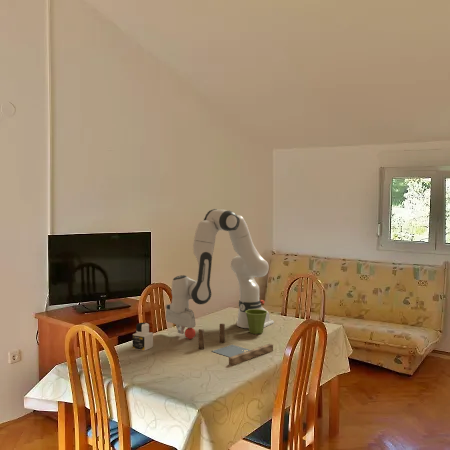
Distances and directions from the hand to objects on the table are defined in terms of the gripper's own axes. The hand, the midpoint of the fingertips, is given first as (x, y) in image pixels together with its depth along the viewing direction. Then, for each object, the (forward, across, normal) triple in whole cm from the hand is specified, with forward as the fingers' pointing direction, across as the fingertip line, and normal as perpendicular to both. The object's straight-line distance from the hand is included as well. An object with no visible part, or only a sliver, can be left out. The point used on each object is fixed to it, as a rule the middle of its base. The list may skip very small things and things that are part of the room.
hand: (180, 333), depth 262 cm
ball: (-1, -7, 0) cm, 7 cm away
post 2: (+2, -23, -8) cm, 24 cm away
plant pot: (+2, -24, -33) cm, 40 cm away
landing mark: (+2, -37, -1) cm, 37 cm away
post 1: (+2, -23, +6) cm, 24 cm away
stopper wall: (+2, -49, -1) cm, 49 cm away
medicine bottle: (+2, -2, +26) cm, 26 cm away
